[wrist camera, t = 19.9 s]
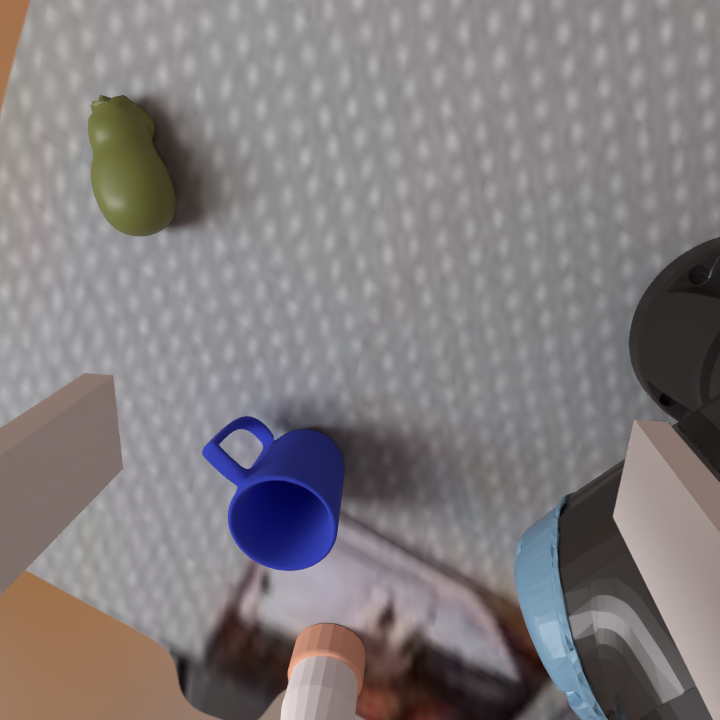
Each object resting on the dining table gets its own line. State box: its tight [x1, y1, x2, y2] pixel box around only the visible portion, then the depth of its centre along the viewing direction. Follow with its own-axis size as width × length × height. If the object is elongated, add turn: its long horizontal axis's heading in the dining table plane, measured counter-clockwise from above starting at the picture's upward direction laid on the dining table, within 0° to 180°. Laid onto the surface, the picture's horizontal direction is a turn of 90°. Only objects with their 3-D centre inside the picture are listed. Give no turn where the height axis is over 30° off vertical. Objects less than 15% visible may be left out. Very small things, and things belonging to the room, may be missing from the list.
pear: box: [88, 95, 176, 236], centre depth 44 cm, size 6×5×10 cm
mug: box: [202, 416, 344, 571], centre depth 48 cm, size 8×12×10 cm
